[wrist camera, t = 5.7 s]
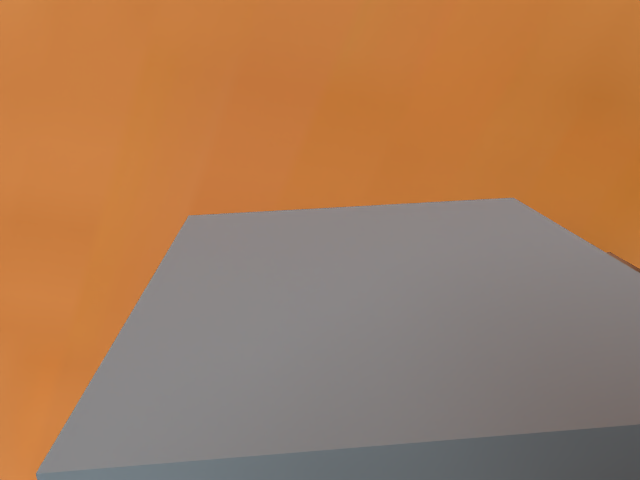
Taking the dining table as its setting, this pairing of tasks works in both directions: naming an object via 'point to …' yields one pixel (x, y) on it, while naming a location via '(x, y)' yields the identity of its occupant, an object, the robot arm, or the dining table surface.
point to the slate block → (369, 353)
